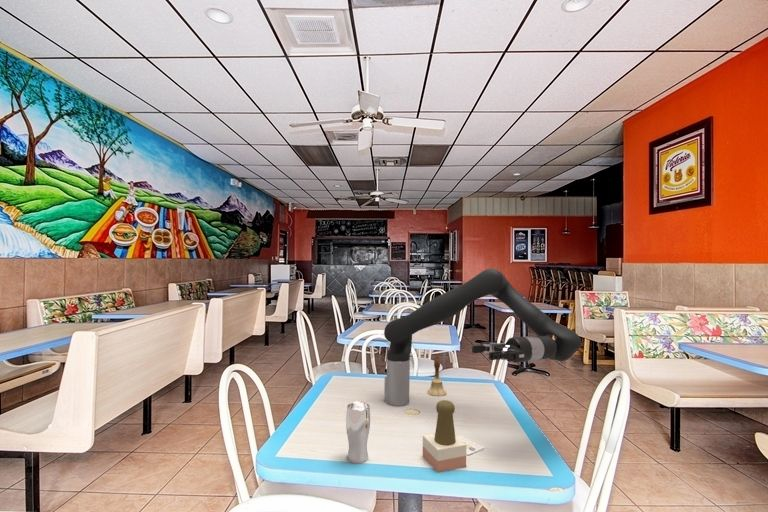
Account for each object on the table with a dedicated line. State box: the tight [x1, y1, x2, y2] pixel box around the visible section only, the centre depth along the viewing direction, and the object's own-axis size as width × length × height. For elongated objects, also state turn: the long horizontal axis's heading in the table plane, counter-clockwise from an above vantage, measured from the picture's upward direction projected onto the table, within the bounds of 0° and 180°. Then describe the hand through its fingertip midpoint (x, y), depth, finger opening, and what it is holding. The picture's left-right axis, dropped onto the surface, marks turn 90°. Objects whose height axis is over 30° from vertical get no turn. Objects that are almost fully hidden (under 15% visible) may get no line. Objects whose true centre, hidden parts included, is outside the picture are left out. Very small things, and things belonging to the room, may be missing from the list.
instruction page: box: [457, 435, 485, 457], centre depth 120 cm, size 10×7×1 cm
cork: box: [434, 399, 456, 446], centre depth 110 cm, size 6×6×11 cm
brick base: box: [422, 433, 467, 473], centre depth 110 cm, size 9×9×6 cm
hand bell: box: [426, 355, 447, 397], centre depth 167 cm, size 8×8×16 cm
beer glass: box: [345, 401, 371, 465], centre depth 111 cm, size 7×7×15 cm
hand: (480, 352), depth 115 cm, fingers open, 8 cm apart
